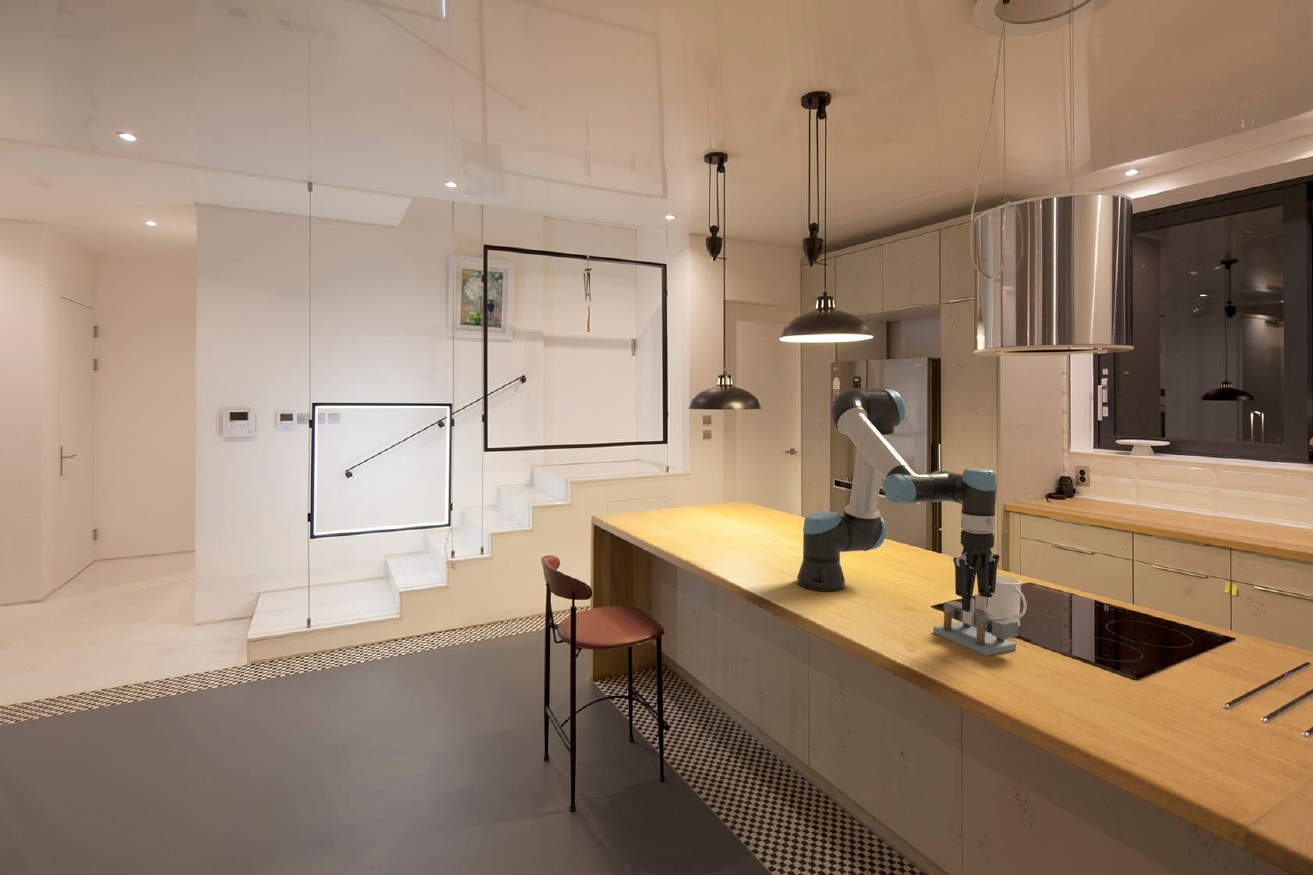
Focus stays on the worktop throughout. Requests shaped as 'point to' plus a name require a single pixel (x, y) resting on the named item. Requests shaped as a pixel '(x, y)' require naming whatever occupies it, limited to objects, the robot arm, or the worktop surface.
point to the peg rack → (973, 636)
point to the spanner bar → (986, 620)
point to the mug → (1007, 599)
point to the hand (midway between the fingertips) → (974, 622)
